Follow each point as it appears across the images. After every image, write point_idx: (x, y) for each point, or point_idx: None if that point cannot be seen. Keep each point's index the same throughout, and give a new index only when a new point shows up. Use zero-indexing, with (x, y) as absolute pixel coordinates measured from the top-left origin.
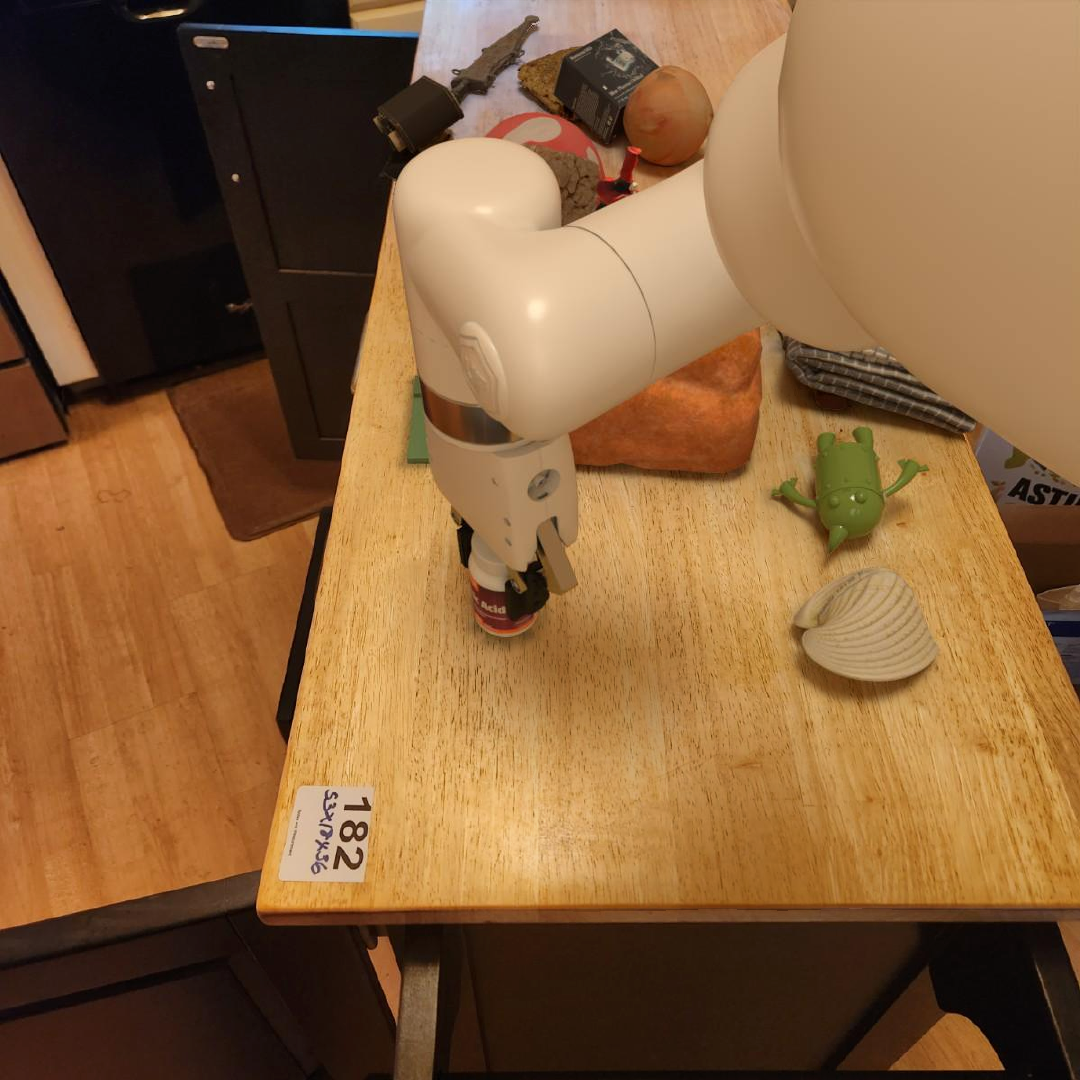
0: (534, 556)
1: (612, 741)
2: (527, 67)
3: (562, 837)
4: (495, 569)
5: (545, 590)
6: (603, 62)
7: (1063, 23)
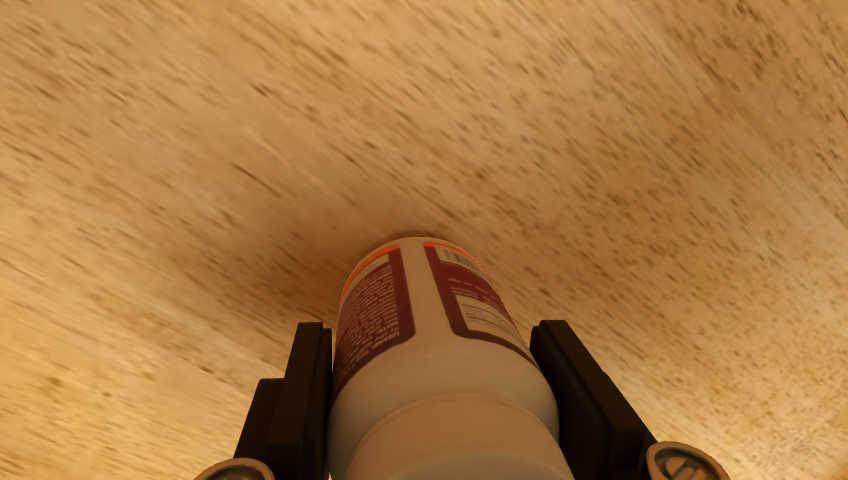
0: (520, 383)
1: (767, 301)
2: None
3: (792, 447)
4: None
5: (634, 413)
6: None
7: None
